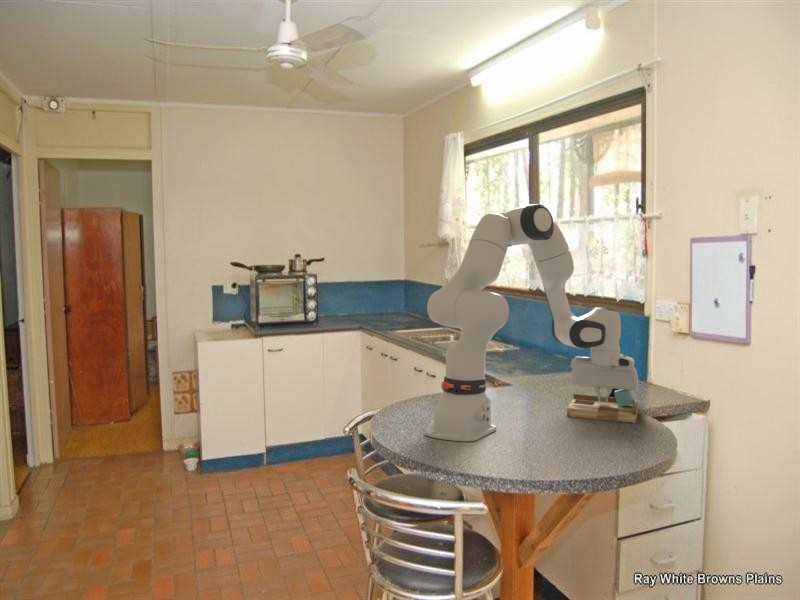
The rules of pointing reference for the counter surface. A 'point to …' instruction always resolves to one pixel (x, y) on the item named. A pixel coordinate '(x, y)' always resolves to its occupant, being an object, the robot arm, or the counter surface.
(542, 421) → the counter surface
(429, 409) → the counter surface
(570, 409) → the wooden tray
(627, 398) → the block
